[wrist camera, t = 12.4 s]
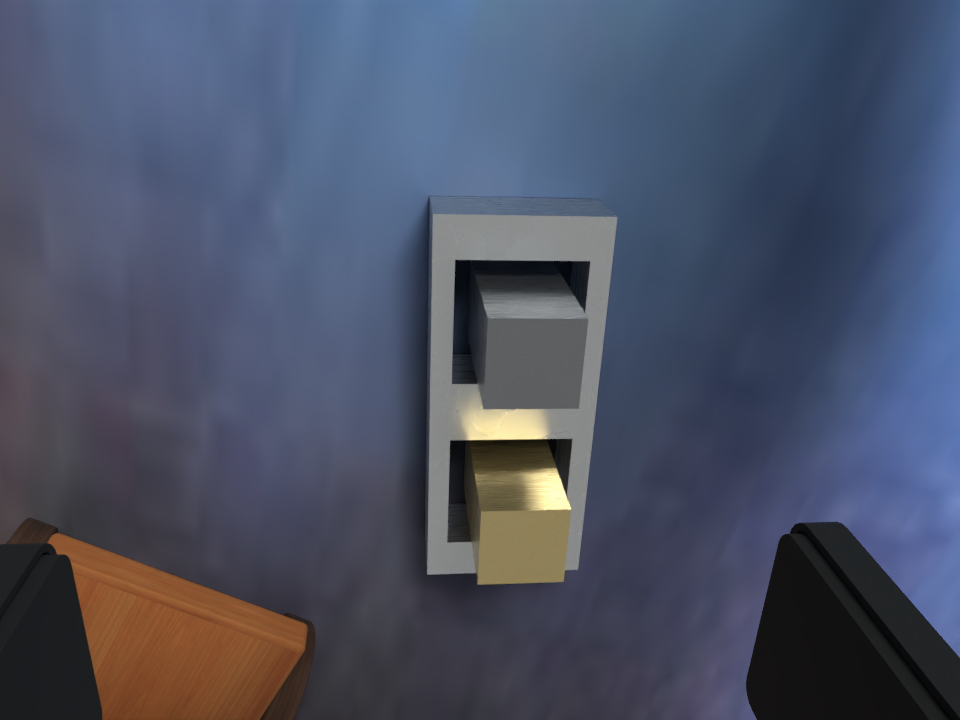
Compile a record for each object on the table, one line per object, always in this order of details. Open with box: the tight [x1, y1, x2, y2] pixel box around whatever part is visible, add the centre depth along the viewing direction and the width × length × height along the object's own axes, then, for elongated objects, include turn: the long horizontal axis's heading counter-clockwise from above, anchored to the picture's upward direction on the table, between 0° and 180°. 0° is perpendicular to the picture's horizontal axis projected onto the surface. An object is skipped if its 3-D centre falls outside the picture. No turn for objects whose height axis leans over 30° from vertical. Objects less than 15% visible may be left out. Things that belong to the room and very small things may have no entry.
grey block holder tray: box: [425, 196, 617, 575], centre depth 39 cm, size 8×19×4 cm, turn 178°
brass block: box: [464, 439, 571, 585], centre depth 39 cm, size 4×4×8 cm
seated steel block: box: [467, 260, 588, 409], centre depth 35 cm, size 4×4×8 cm
